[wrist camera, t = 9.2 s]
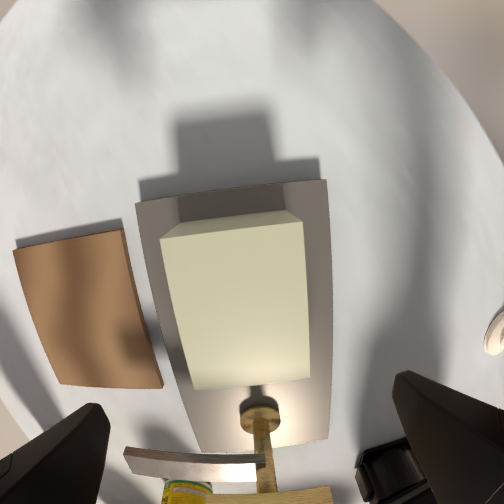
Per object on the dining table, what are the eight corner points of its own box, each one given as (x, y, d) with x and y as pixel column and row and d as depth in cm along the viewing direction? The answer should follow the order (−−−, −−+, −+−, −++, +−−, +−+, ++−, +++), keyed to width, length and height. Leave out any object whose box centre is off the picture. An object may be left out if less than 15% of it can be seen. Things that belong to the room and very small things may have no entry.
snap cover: (285, 209, 17) (302, 221, 12) (295, 335, 19) (310, 377, 14) (179, 222, 17) (159, 239, 12) (202, 346, 19) (194, 390, 14)
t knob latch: (140, 400, 19) (102, 508, 10) (307, 400, 20) (340, 514, 10) (148, 426, 20) (120, 527, 10) (303, 426, 21) (329, 531, 11)
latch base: (320, 179, 17) (326, 179, 16) (325, 429, 23) (327, 438, 21) (141, 201, 17) (134, 203, 16) (202, 443, 22) (201, 452, 21)
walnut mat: (123, 228, 18) (120, 230, 17) (163, 384, 21) (162, 388, 20) (17, 248, 18) (12, 250, 17) (62, 380, 20) (59, 384, 20)
